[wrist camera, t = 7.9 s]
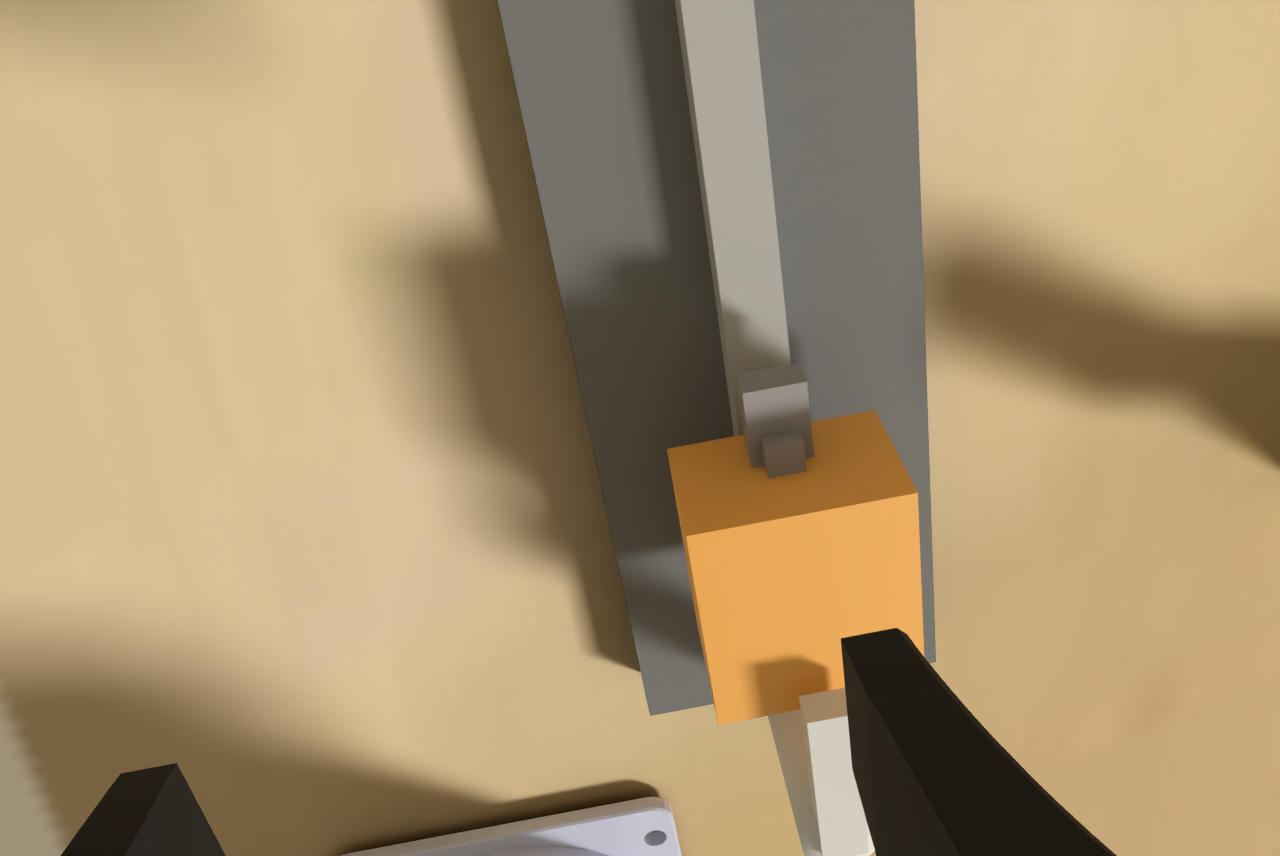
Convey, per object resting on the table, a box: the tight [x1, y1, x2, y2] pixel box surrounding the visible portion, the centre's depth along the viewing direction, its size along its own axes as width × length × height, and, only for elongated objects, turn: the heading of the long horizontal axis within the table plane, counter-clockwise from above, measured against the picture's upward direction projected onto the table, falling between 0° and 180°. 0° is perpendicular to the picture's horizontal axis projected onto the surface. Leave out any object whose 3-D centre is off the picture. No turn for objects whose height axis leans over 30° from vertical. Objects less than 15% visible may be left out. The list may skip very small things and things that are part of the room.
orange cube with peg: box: [667, 363, 924, 725], centre depth 20 cm, size 5×4×2 cm, turn 9°
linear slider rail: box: [497, 0, 936, 856], centre depth 20 cm, size 15×6×6 cm, turn 9°
